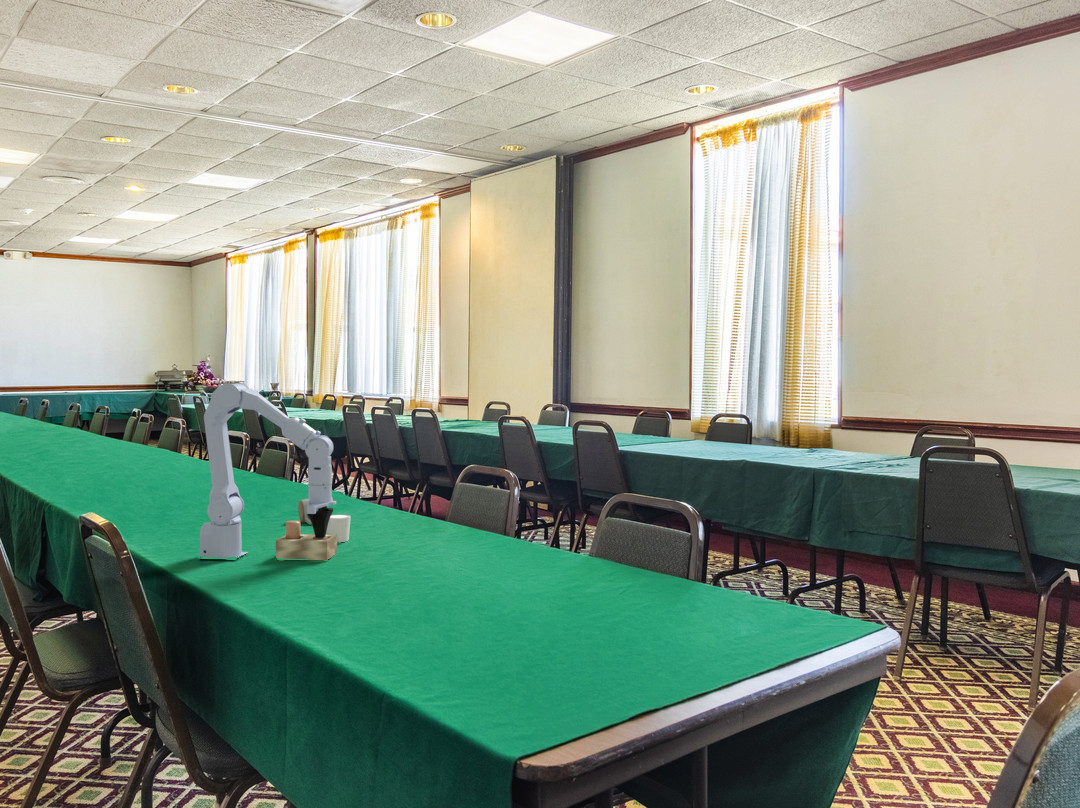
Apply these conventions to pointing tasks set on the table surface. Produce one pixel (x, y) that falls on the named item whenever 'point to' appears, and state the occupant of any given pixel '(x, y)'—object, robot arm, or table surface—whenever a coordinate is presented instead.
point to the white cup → (339, 527)
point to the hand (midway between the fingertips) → (320, 537)
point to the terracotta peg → (293, 530)
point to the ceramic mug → (304, 511)
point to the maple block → (306, 548)
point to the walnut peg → (320, 538)
